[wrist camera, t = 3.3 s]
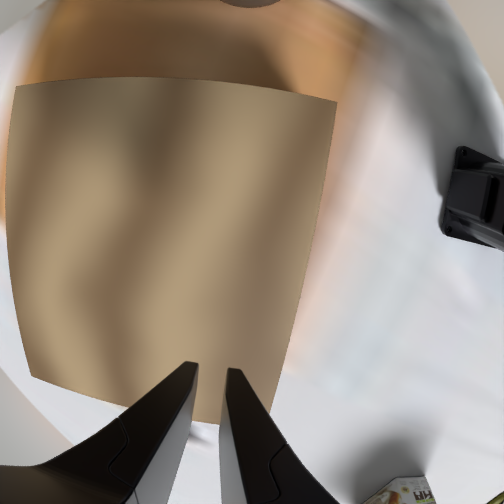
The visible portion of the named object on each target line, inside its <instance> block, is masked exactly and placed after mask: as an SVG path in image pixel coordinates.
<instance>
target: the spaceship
mask: <svg viewBox="0 0 504 504" xmlns="http://www.w3.org/2000/svg"><path fill="white" fill-rule="evenodd" d="M503 500H504V493H502V494H500V495H498V496H497V497H495V498H494V499H493V500H491V501H490V502H489V503H487V504H500V503H501V502H502V501H503Z"/></svg>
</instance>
